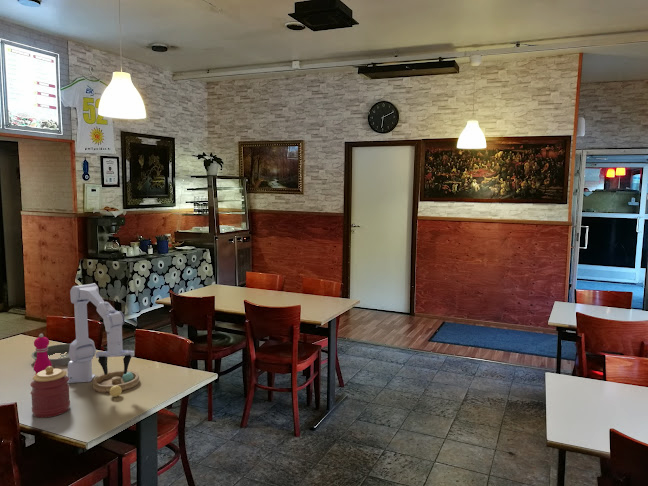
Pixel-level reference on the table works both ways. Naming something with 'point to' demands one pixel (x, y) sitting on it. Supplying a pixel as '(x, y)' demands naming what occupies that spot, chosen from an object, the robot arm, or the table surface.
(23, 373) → the table surface
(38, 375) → the canister
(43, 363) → the pepper mill
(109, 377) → the groove tray
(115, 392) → the bead ochre
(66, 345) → the cake pan
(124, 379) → the bead teal
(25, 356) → the table surface
